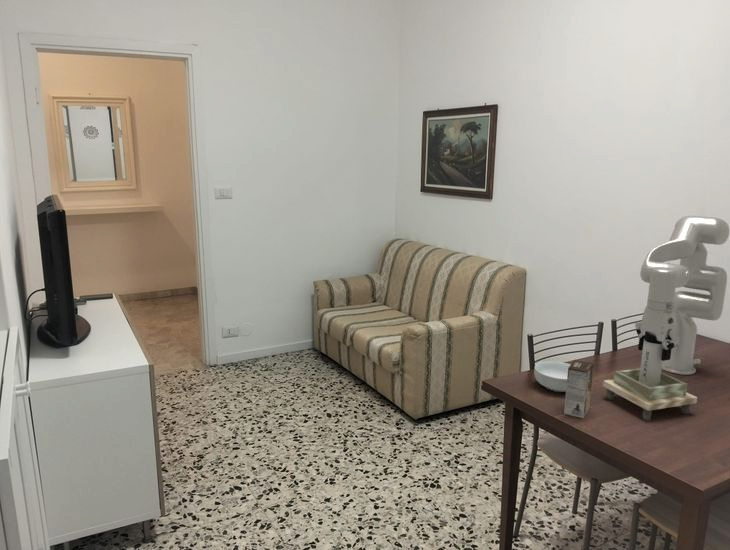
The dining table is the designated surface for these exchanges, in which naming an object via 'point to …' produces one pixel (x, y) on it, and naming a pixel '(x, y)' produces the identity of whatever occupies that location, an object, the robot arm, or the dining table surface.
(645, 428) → the dining table surface
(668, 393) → the framed shelf
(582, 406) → the coffee box
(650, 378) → the travel mug
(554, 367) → the cereal bowl
